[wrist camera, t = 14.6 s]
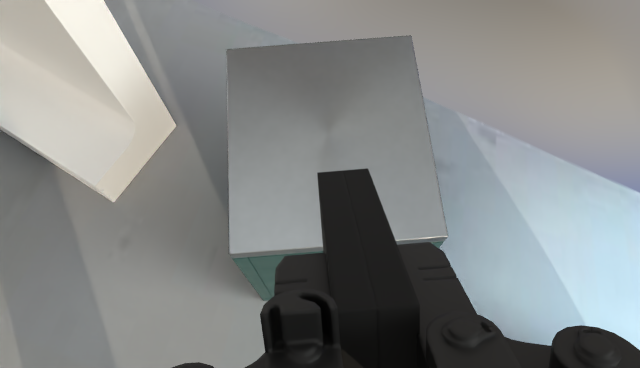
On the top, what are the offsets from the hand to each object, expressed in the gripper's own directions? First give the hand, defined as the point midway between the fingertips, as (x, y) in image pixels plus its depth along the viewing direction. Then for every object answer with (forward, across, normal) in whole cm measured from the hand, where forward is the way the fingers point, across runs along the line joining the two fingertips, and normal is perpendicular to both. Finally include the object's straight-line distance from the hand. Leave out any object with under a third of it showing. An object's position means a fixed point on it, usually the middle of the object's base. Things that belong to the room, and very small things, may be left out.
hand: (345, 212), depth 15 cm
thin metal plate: (+12, 0, -2) cm, 13 cm away
